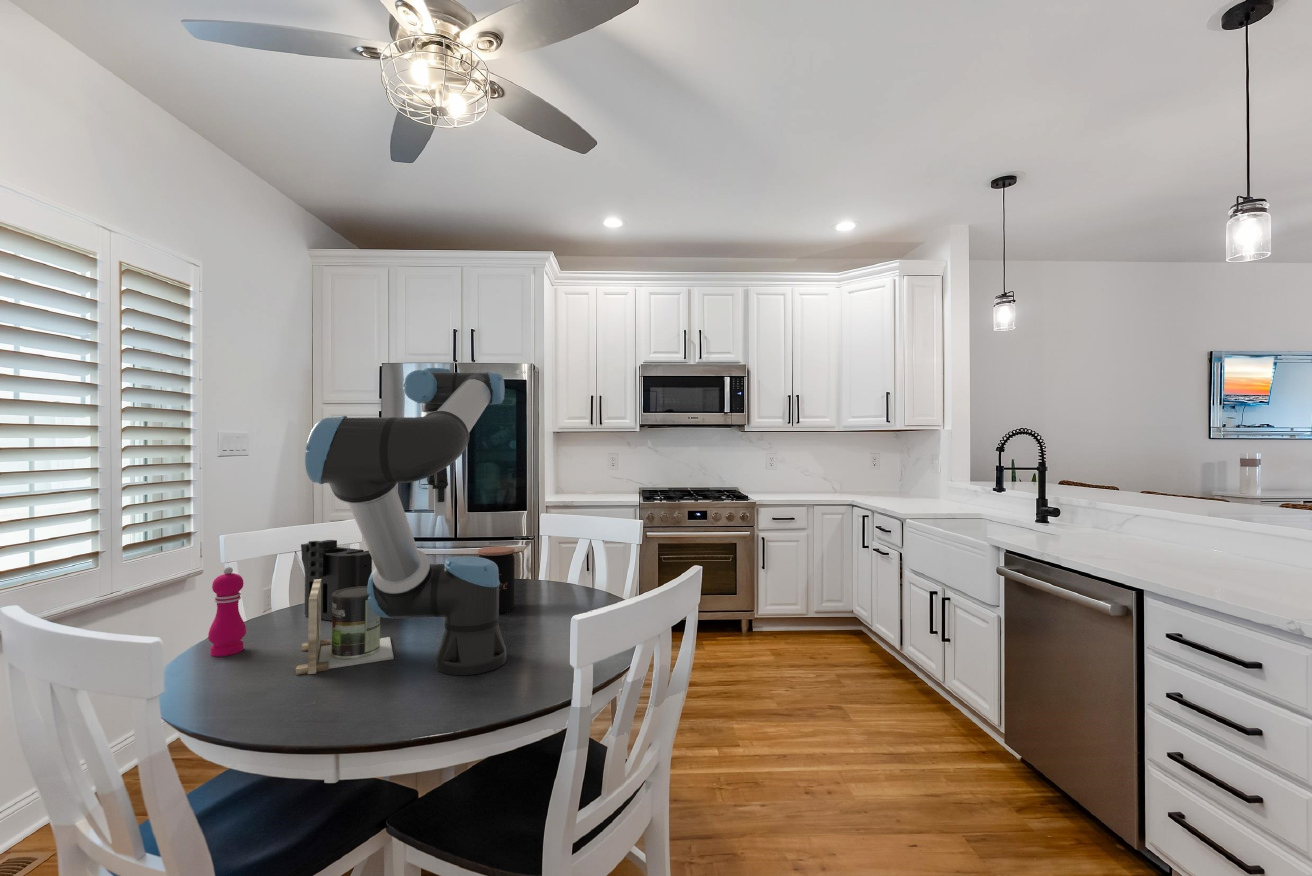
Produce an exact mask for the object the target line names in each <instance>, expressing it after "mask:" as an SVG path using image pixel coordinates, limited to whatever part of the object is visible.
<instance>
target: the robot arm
mask: <svg viewBox="0 0 1312 876" xmlns="http://www.w3.org/2000/svg"><path fill="white" fill-rule="evenodd" d="M402 388H403V389H402V390H403V391H404V394H405V395H406V397H407V398H408V399H410V400H411V401H413V402H414V403H417V404H421V416H418V417H417V416H415V417H413V416H411V417H410V416H409V417H405V416H402V417H401V416H400V417H394V416H391V417H389V416H386V417H373V416H372V417H348V415H347V416H346V415H342V416H337V417H334V416H333V417H325V418H322V419H320V420H318V421H317V422H316V424H315V425H314V426H313V428H312V429H311V431H310V433H309V435H308V438H307V441H306V447H305V452H304V453H305V454H304V465H305V473H306V475H307V477H308V479H310V480H311V482H313V483H316V484H317V483H318V484H319V485H324V484H328V485H329V486H330V488H331V491H332V493H333V495H334V497H335V498H337V500H339V501H341V502H343V503H346V504H348V506H349V509H350V511H351V513H352V515H353V516H352V517H353V518H354V520H355V523H356V524H357V527H358V529H359V532H360V534H361V536H362V539H363V541H364V542H365V545H366V547H367V551H369V553H370V555H371V557H372V563H373V564H374V566H375V567H374V569H372V573H371V575H370V578H369V581H368V588H367V593H368V594H369V597H368V601H369V604H370V607H371V609H372V611H373V612H374V613H375V614H376V615H378V616H380V618H384V619H385V618H387V619H395V620H397V619H413V618H414V619H415V618H416V619H417V618H418V619H420V618H421V619H422V618H444V632H443V634H442V638H441V641H440V644H439V646H438V649H437V652H436V656H435V668H436V670H437V671H438V672H440V673H443V674H446V675H451V676H469V675H470V676H471V675H472V676H473V675H479V674H484V673H487V672H490V671H493V670H496V669H498V668H500V667H501V666H503V665H504V664H505V663H506V662H507V647H506V645H505V641H504V638H503V636H502V633H501V629H500V625H499V621H500V619H499V618H500V617H499V616H500V614H499V585H500V581H499V571H498V566H497V565H496V564H495V563H494V562H493V561H491V560H488V559H485V558H481V557H479V556H470V555H462V556H459V555H458V556H457V555H455V556H449V557H448V558H446V559H445V561H444V563H431V561H430V559H429V557H428V555H427V554H426V553H424V552H423V551H422V550H419V549H418V548H417V543H416V541H415V538H414V535H413V533H412V529H411V527H410V524H409V521H408V518H407V515H406V513H405V509H404V507H403V504H402V501H401V498H400V495H399V492H398V489H397V486H398V484H400V483H401V484H405V483H406V484H408V483H413V482H419V481H421V480H424V479H426V482H427V511H433V512H434V513H433V516H434V517H439V516H440V517H441V516H446V515H447V488H448V486H449V482H448V481H449V480H448V469H447V467H449V466H450V465H452V464H453V463H454V462H455V461H457V460H458V459H459V458H460V456H462V454H463V452H464V451H465V450H466V448H467V447H468V444H469V441H470V432H471V431H472V429H473V427H474V426H475V424H476V423H477V421H478V420H479V419H480V417H481V415H482V414H483V412H484V411H485V410H486V407H487V406H488V405H490V406H492V405H500V404H502V403H503V401H504V400H505V379H504V377H503V374H502V373H495V372H489V371H486V372H454V371H452V370H451V369H448V368H442V367H426V368H424V369H423V370H422V369H418V370H417V369H416V370H412V371H411V372H409V373H408V374H407V375H406V376H405V377H404V380H403V385H402Z"/></svg>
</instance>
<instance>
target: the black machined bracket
mask: <svg viewBox="0 0 1312 876" xmlns="http://www.w3.org/2000/svg"><path fill="white" fill-rule="evenodd" d="M300 547H301V548H300V549H301V562H302V564H303V571H304V613H303V614H304V615H305V617H308V618H309V596H310V593H311V589H312V585H313V582H314V580H316V579H321V620H323V621H324V620H325V621H330V622H332V600H333V598H332V593H333V592H335V591H338V590H340V589H344V588H350V587H358V586H368V581H369V578H370V575H371V573H372V571H373V559H372V557H371V555H370V553H369V550H365V551H364V549H359V548H349V547H339V546H338V540H337V539H325V540H309V541H308V543H301V544H300Z"/></svg>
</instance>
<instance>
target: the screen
mask: <svg viewBox="0 0 1312 876" xmlns="http://www.w3.org/2000/svg"><path fill="white" fill-rule="evenodd" d="M321 622H322V619H321V579H316V580H314V582H313V585H312V589H311V593H310V596H309V617H308V627H307V628H308V630H307V631H308V637H307V640H308V641H307V642H302V643H301V652H305V651H306V652H307V653H308V654H307V663H306V664H305V663H304V664H299V665H296V667H295V675H296V676H298V675H305V674H307V675H311V674H312V675H313V674H317V672H324V671H329V669H328V665H329V661H324V662H319V657H320V650H321V646H327V645H332V638H330V639H329V638H328V639H321V629H322V628H321V627H322V625H321V624H322V623H321Z"/></svg>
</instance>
